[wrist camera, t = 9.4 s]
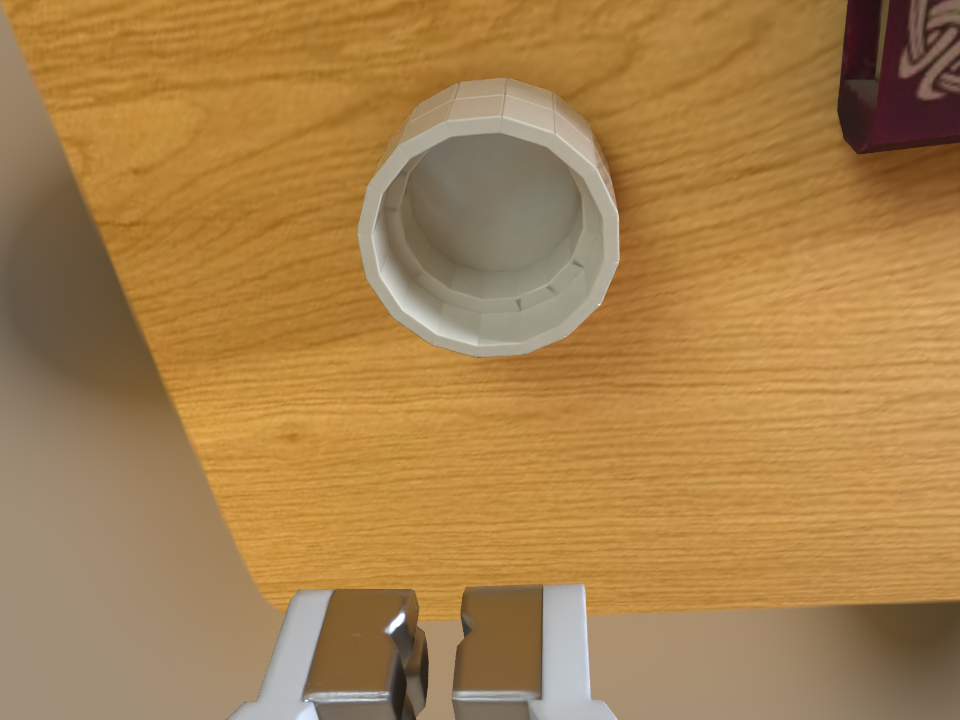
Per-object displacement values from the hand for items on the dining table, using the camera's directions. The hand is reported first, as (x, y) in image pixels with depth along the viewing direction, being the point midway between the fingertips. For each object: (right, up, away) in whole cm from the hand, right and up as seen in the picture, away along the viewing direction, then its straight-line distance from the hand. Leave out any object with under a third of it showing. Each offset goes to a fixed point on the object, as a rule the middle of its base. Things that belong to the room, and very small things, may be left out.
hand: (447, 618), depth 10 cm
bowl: (+1, +8, +13) cm, 15 cm away
